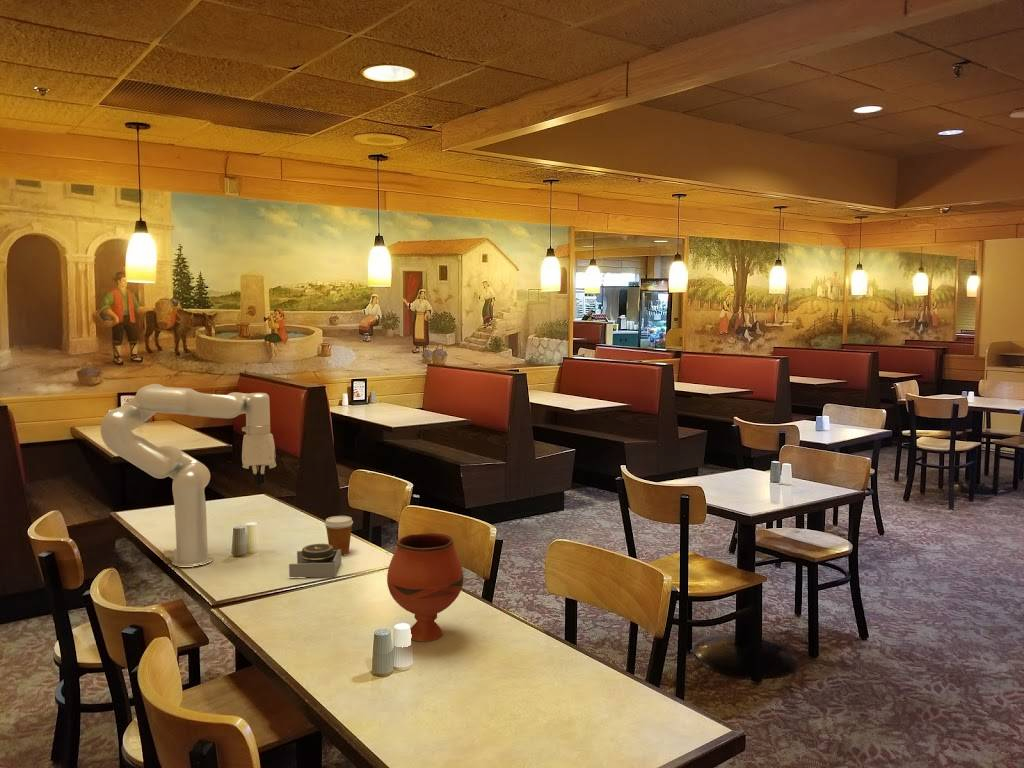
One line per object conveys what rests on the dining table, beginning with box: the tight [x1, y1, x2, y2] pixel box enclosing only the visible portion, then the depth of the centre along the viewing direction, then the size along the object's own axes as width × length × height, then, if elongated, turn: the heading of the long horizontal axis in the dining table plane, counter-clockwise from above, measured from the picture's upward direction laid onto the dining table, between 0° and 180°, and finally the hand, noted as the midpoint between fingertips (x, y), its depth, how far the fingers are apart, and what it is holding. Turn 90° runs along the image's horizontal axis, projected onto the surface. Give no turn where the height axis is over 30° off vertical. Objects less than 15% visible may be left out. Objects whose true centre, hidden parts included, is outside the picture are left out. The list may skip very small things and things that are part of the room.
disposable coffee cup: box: [324, 515, 354, 556], centre depth 271 cm, size 10×10×12 cm
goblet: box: [386, 532, 464, 642], centre depth 202 cm, size 19×19×25 cm
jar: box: [301, 543, 334, 563], centre depth 253 cm, size 10×10×8 cm
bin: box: [288, 549, 342, 578], centre depth 253 cm, size 14×14×5 cm
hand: (260, 485), depth 263 cm, fingers closed
